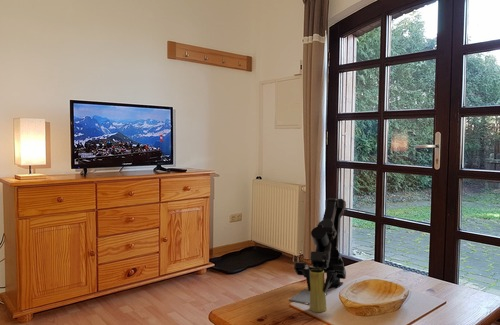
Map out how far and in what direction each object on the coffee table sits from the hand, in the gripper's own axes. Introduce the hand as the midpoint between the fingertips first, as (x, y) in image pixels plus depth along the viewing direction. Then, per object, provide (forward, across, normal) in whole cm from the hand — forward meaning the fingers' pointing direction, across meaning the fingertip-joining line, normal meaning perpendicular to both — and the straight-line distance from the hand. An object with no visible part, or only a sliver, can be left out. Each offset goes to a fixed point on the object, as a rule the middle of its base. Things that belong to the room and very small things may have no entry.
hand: (316, 291), depth 144 cm
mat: (-4, -6, +14) cm, 15 cm away
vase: (+4, 0, +6) cm, 7 cm away
